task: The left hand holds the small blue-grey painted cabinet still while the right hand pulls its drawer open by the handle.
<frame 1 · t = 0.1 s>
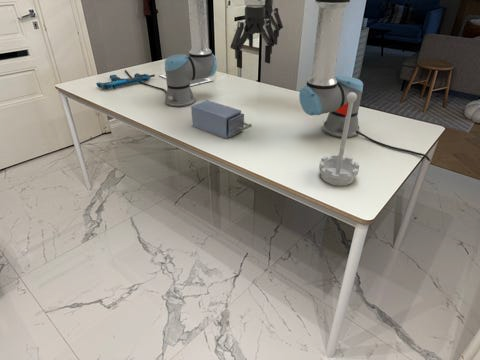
left hand: (253, 65, 136), 28 cm above the table, tool pointing down, fingers open, 13 cm apart
right hand: (263, 45, 167), 28 cm above the table, tool pointing down, fingers open, 13 cm apart
drawer: (225, 121, 147), point 5 cm above the table, slide at 0.8 cm
submachine gun: (125, 82, 210), on the table
cabinet: (216, 128, 152), on the table
tablet: (185, 78, 216), on the table
flag stand: (336, 177, 118), on the table
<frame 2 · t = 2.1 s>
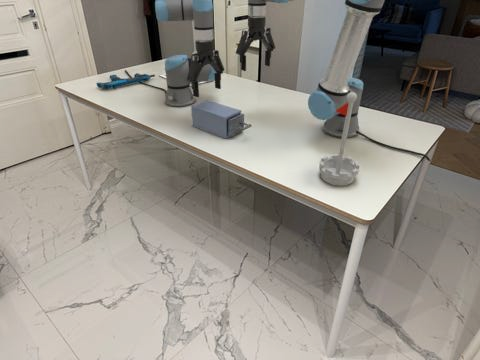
left hand: (207, 92, 147), 15 cm above the table, tool pointing down, fingers open, 13 cm apart
right hand: (255, 68, 154), 22 cm above the table, tool pointing down, fingers open, 13 cm apart
nothing on the table moved.
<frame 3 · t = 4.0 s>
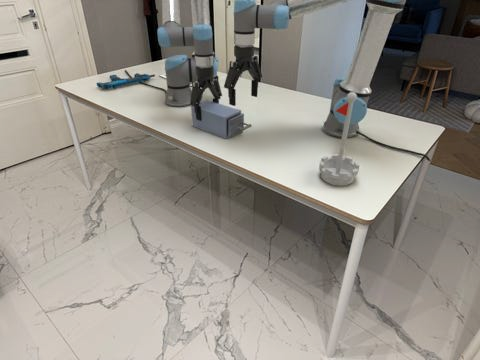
left hand: (207, 116, 153), 4 cm above the table, tool pointing down, fingers closed on cabinet, 10 cm apart
right hand: (243, 100, 137), 16 cm above the table, tool pointing down, fingers open, 13 cm apart
cabinet: (216, 128, 152), on the table, touching left hand
everything else where it was.
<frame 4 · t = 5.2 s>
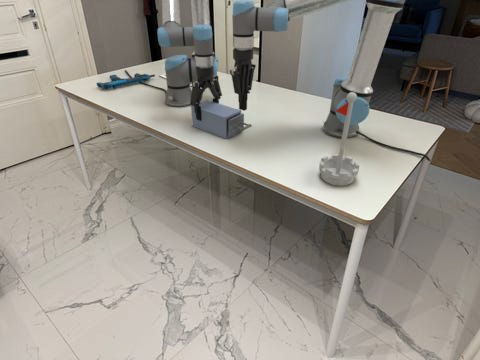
left hand: (207, 116, 153), 4 cm above the table, tool pointing down, fingers closed on cabinet, 10 cm apart
right hand: (242, 109, 137), 13 cm above the table, tool pointing down, fingers closed
cabinet: (216, 128, 152), on the table, touching left hand
everything else where it was.
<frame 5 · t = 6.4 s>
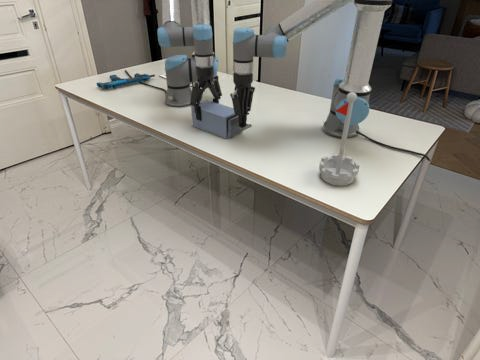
left hand: (207, 116, 153), 4 cm above the table, tool pointing down, fingers closed on cabinet, 10 cm apart
right hand: (242, 129, 142), 4 cm above the table, tool pointing down, fingers closed
drawer: (225, 121, 147), point 5 cm above the table, slide at 0.8 cm, touching right hand
cabinet: (216, 128, 152), on the table, touching left hand
everything else where it was.
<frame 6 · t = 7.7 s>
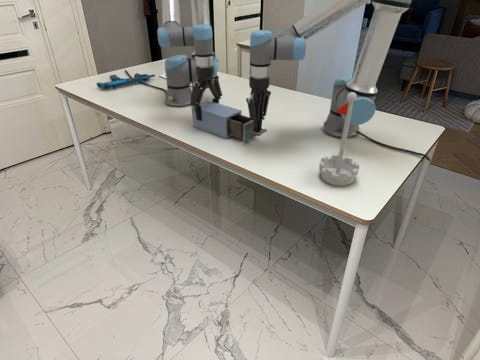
left hand: (207, 116, 152), 4 cm above the table, tool pointing down, fingers closed on cabinet, 10 cm apart
right hand: (257, 134, 138), 4 cm above the table, tool pointing down, fingers closed
drawer: (239, 126, 142), point 5 cm above the table, slide at 8.4 cm, touching right hand
cabinet: (216, 128, 152), on the table, touching left hand
everything else where it was.
when the left hand's fingers open (5 cm above the table, at t = 9.5 s): cabinet stays where it is, on the table.
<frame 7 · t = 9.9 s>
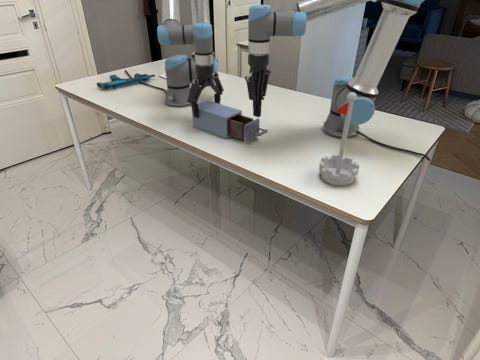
left hand: (207, 112, 152), 6 cm above the table, tool pointing down, fingers open, 13 cm apart
right hand: (256, 115, 134), 12 cm above the table, tool pointing down, fingers closed
drawer: (240, 126, 142), point 5 cm above the table, slide at 8.8 cm
cabinet: (217, 128, 152), on the table
everything else where it was.
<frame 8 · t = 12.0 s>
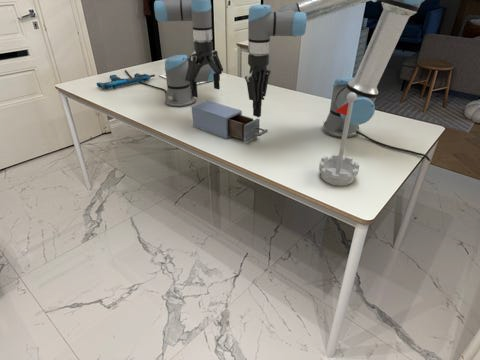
left hand: (206, 92, 147), 15 cm above the table, tool pointing down, fingers open, 13 cm apart
right hand: (256, 115, 134), 12 cm above the table, tool pointing down, fingers closed
nothing on the table moved.
at the end: drawer slide at 8.8 cm; cabinet tilted 0°; cabinet never tilted more than 2° during the clip; cabinet moved 0.3 cm from its start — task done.
